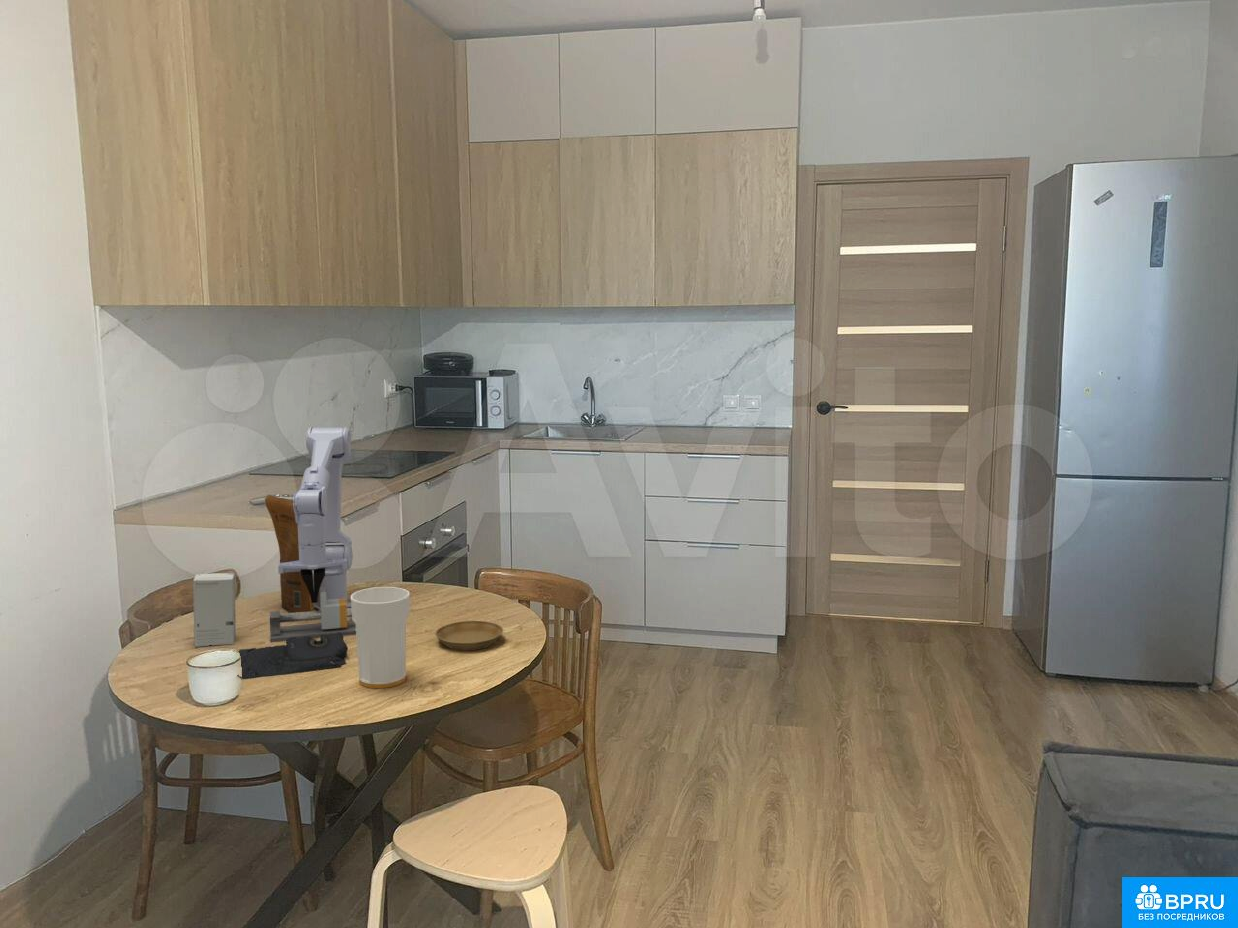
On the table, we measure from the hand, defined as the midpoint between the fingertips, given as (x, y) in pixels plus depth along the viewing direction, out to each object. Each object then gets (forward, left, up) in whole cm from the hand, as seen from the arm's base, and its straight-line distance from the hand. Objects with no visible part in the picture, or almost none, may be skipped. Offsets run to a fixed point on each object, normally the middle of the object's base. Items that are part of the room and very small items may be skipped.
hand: (314, 601), depth 215 cm
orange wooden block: (+3, +5, -6) cm, 8 cm away
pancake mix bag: (-18, +5, -7) cm, 20 cm away
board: (+2, +3, -7) cm, 8 cm away
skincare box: (-10, -18, -7) cm, 22 cm away
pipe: (+2, +3, -7) cm, 8 cm away
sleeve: (+2, +3, -6) cm, 7 cm away
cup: (+35, -6, -7) cm, 36 cm away
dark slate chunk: (+13, -13, -8) cm, 20 cm away
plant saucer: (+30, +20, -8) cm, 37 cm away
